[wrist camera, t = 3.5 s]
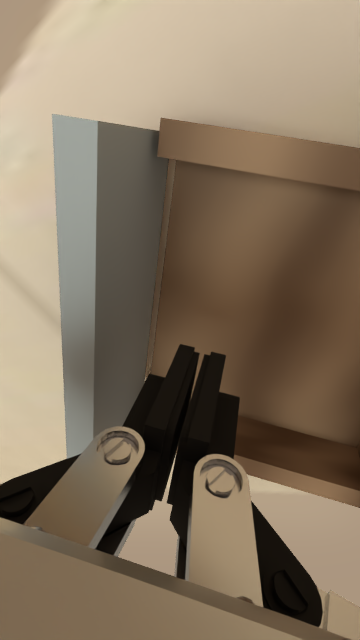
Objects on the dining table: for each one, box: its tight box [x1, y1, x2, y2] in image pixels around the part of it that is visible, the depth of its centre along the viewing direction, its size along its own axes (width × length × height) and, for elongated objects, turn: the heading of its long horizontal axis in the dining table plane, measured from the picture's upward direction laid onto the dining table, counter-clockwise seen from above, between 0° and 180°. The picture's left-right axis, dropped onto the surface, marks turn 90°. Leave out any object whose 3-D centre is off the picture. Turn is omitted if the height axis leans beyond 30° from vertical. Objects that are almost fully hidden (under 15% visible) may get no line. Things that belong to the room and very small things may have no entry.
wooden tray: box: [151, 118, 360, 508], centre depth 16 cm, size 14×16×6 cm
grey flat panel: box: [52, 114, 169, 459], centre depth 15 cm, size 2×15×7 cm, turn 172°
